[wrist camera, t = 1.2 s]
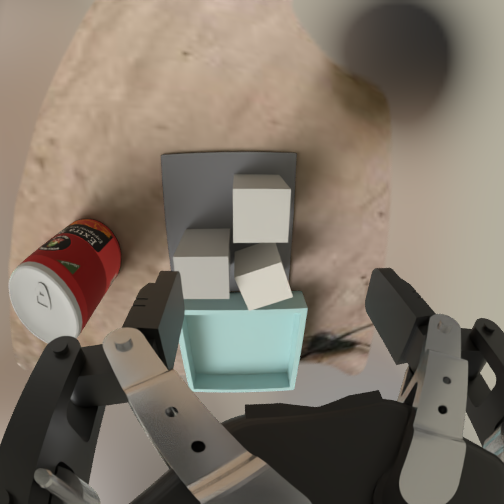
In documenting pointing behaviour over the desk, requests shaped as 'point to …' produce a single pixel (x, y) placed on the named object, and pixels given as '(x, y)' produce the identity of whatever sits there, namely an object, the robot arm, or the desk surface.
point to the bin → (242, 344)
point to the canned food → (65, 280)
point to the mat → (217, 194)
